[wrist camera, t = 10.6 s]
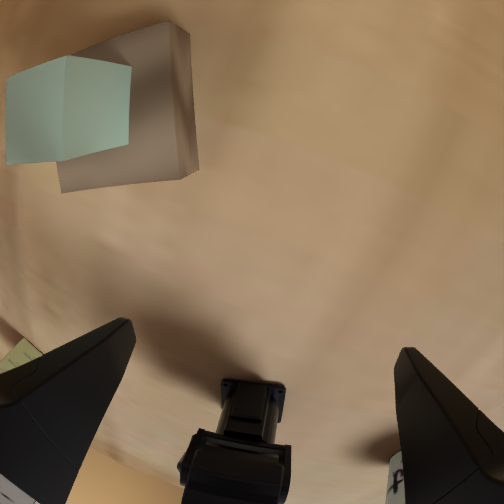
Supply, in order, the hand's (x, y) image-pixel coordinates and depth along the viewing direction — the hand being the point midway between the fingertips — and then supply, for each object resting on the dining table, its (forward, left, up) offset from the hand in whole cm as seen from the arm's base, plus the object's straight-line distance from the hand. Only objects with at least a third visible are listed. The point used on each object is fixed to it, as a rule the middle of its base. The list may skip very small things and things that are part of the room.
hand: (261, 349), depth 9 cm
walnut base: (+8, +11, -13) cm, 19 cm away
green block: (+8, +12, -9) cm, 17 cm away
